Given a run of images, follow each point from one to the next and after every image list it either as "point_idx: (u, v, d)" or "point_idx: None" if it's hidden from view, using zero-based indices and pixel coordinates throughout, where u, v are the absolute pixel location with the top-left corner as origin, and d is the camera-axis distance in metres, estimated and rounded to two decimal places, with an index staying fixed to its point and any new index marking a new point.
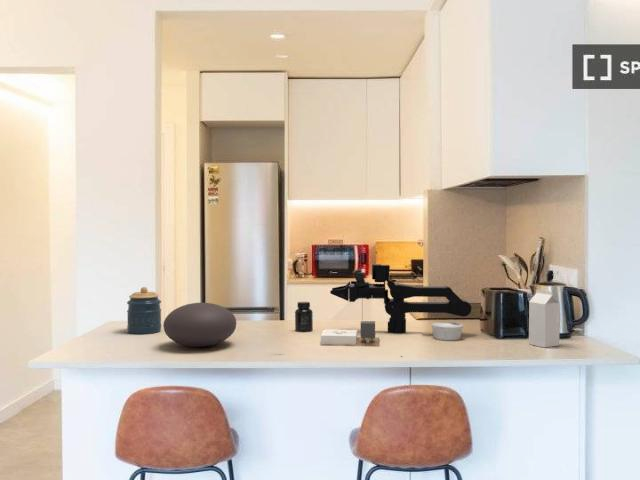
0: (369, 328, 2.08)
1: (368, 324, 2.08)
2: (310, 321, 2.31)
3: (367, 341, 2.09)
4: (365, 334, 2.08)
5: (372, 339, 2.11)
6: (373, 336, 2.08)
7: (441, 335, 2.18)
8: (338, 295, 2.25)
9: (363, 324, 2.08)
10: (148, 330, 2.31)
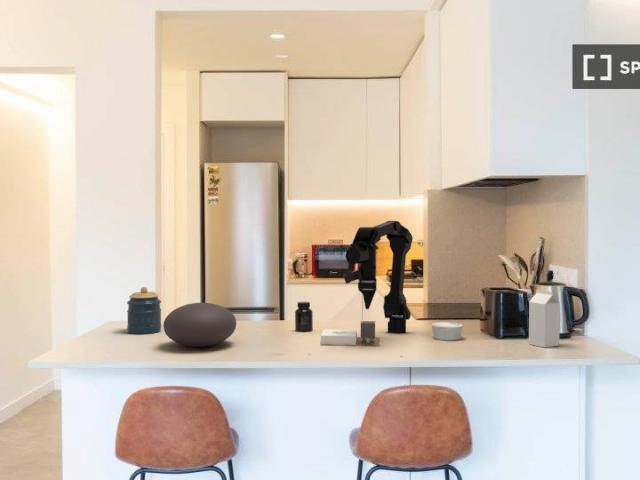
0: (369, 328, 2.08)
1: (368, 324, 2.08)
2: (310, 321, 2.31)
3: (367, 341, 2.09)
4: (365, 334, 2.08)
5: (372, 339, 2.11)
6: (373, 336, 2.08)
7: (441, 335, 2.18)
8: (370, 300, 2.05)
9: (363, 324, 2.08)
10: (148, 330, 2.31)
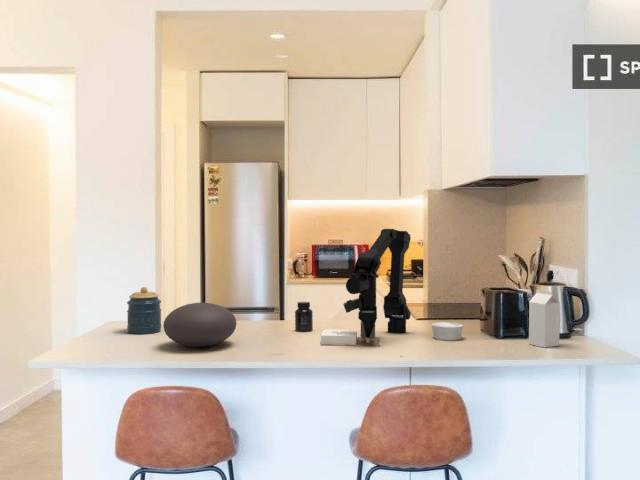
0: None
1: None
2: (310, 321, 2.31)
3: (367, 341, 2.09)
4: (365, 334, 2.08)
5: (372, 339, 2.11)
6: (373, 336, 2.08)
7: (441, 335, 2.18)
8: (371, 328, 2.07)
9: (363, 324, 2.08)
10: (148, 330, 2.31)
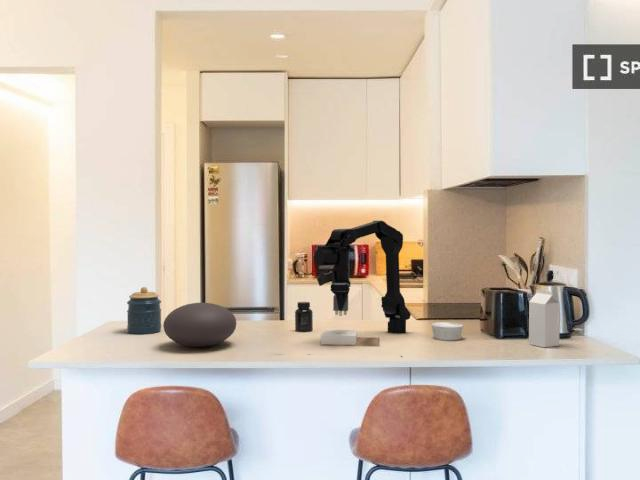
0: None
1: None
2: (310, 321, 2.31)
3: (340, 314, 2.09)
4: (337, 307, 2.08)
5: (345, 313, 2.11)
6: (346, 310, 2.08)
7: (441, 335, 2.18)
8: (343, 301, 2.07)
9: None
10: (148, 330, 2.31)
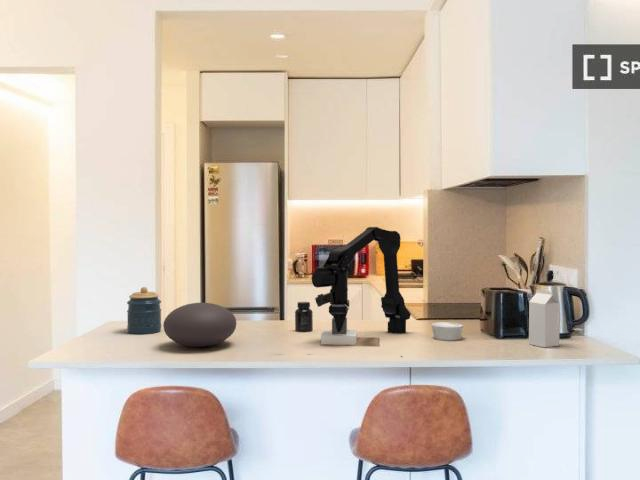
0: None
1: None
2: (310, 321, 2.31)
3: None
4: (336, 330, 2.09)
5: None
6: (345, 333, 2.09)
7: (441, 335, 2.18)
8: (341, 323, 2.06)
9: (334, 320, 2.09)
10: (148, 330, 2.31)
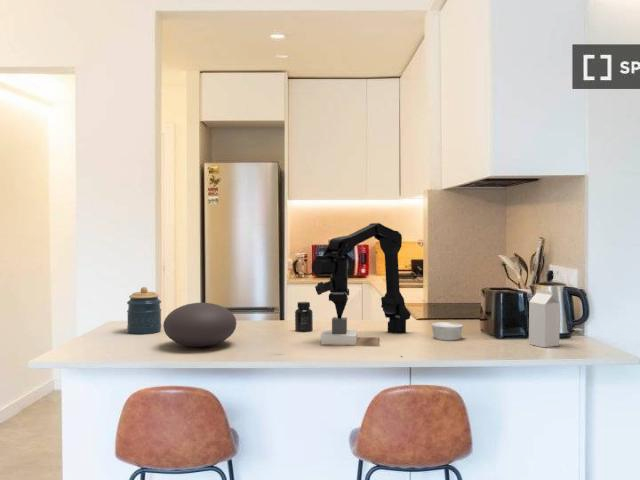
0: (340, 324, 2.09)
1: (339, 320, 2.09)
2: (310, 321, 2.31)
3: None
4: (336, 330, 2.09)
5: None
6: (345, 333, 2.09)
7: (441, 335, 2.18)
8: (342, 309, 2.10)
9: (334, 320, 2.09)
10: (148, 330, 2.31)
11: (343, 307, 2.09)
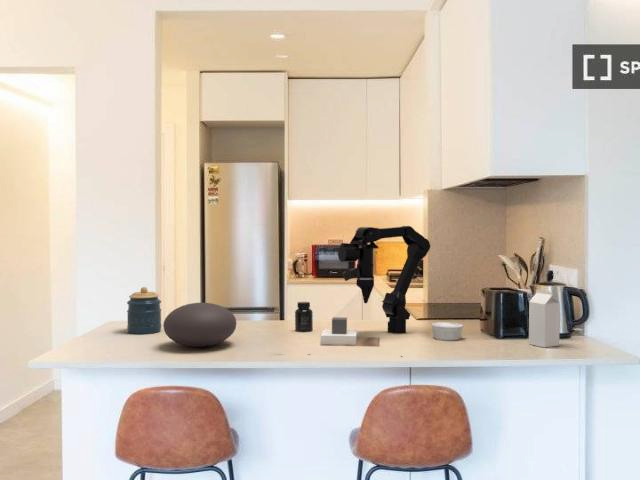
0: (340, 324, 2.09)
1: (339, 320, 2.09)
2: (310, 321, 2.31)
3: None
4: (336, 330, 2.09)
5: None
6: (345, 333, 2.09)
7: (441, 335, 2.18)
8: (368, 295, 2.21)
9: (334, 320, 2.09)
10: (148, 330, 2.31)
11: (369, 292, 2.20)
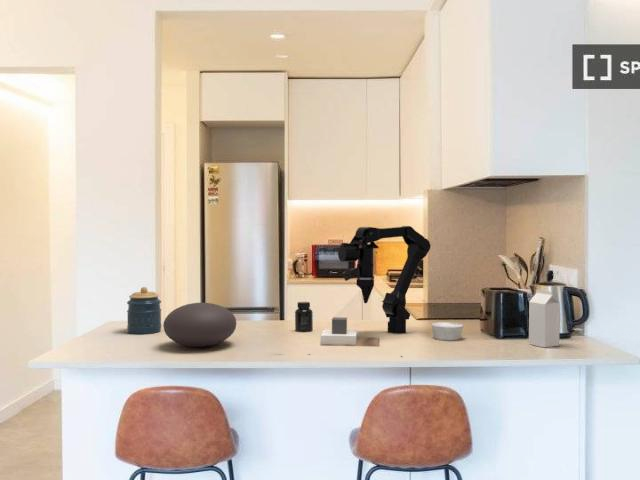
0: (340, 324, 2.09)
1: (339, 320, 2.09)
2: (310, 321, 2.31)
3: None
4: (336, 330, 2.09)
5: None
6: (345, 333, 2.09)
7: (441, 335, 2.18)
8: (368, 294, 2.21)
9: (334, 320, 2.09)
10: (148, 330, 2.31)
11: (369, 292, 2.20)
